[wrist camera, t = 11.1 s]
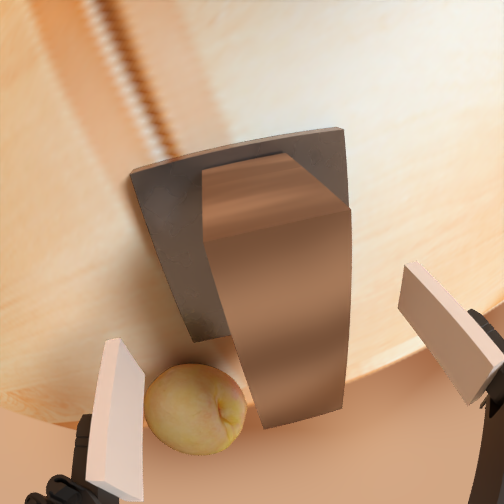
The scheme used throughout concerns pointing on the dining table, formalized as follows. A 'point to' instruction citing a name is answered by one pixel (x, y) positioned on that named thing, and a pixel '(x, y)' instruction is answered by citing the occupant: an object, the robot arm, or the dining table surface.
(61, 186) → the dining table surface
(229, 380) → the fruit
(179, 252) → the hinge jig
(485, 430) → the robot arm
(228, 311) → the door
